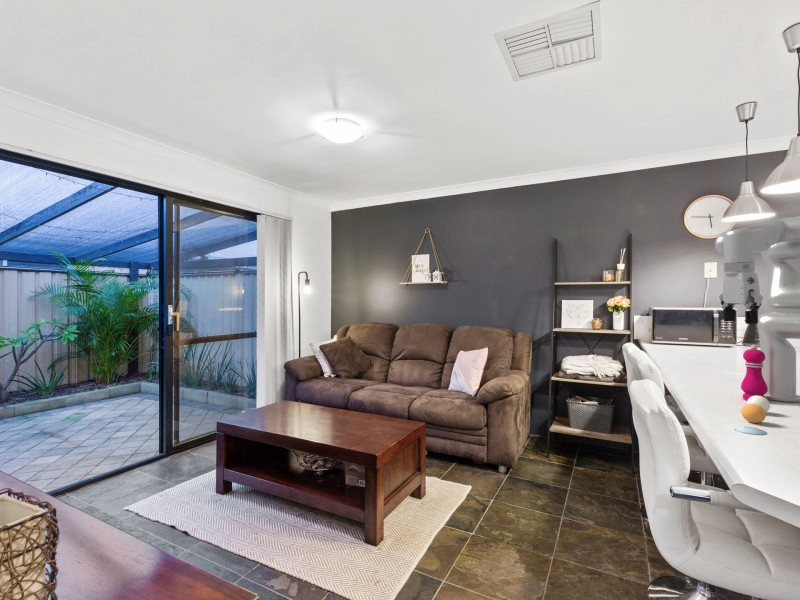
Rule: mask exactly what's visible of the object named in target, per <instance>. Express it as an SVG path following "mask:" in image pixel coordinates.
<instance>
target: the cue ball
mask: <svg viewBox="0 0 800 600" xmlns="http://www.w3.org/2000/svg"><path fill="white" fill-rule="evenodd" d="M746 403H747V404H756V405H758V406H760V407H762V408H763V409H764V411H765V413H767V412H768V411H769V410H770V409H771V404H770V400H769V399H766V398H764V397H762V396H752V397H750V398H749V399H748V401H747V400H746ZM747 404H746V405H747Z"/></svg>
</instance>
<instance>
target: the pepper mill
mask: <svg viewBox="0 0 800 600" xmlns="http://www.w3.org/2000/svg"><path fill="white" fill-rule="evenodd" d="M742 358H743V360H744V361H745V362H744V363H745V364H744V366H745V368H746V373H745V375H744V378H743V380H742V381H741V384H740V388H741V391H742V392H743V394H742V400H744V401H746V402H747V401H748V399H749V398H750V397H752V396H762V397H764V398H766V397H765V396H764V394H766V393H767V391H768V388H767V384H766V382H765V381H764V379H763V376H762V367H763V363H762V362H763V361H764V360H765V354H764V353H763V352H762V351H761V350H760V349H758V345H756V344H752V345H751V346H750V348H749V349H747V350H745V351H744V352H743V354H742Z"/></svg>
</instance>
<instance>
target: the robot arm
mask: <svg viewBox="0 0 800 600" xmlns="http://www.w3.org/2000/svg"><path fill="white" fill-rule="evenodd" d="M714 247H715V250H716V252H717V253H719V254H720V255H722V256H723V274H724V277H723V284H722V294H721V293H720V295H719V301H720V305H721V309H722V310H723V322H735V321H736V309H735V306H736V305H743V306H744V308H745V309H746V310H745V312H744V313H745V315H744V316H745V317H744V319H745V321H744V323H745V324H746V325H756V326H757V330H758V335H759V342H760V343H759V344H760V349H759V350H760V351H762V352H763V353H764V354H765V360H764V361H763V362H762V363H763V367H762V376H763V379H764V381H765V382H766V384H767V388H768V391H767V393H766V394H764V396H765V397H766V399H767V400H769V401H770V400H772V401H777V402H788V403H789V402H790V403H793V402H794V403H796V402H797V403H799V402H800V395H798V394H797V351H796V348H795V347H794V346H793V344H792V343H790V341H789V339H794V340H800V270H799V269H798V268H797V267H796V266H794V265H793V264H792V263H790V262H789V261H788V260H800V215H797V216H792V217H791V216H789V217H782V218H774V219H773V218H772V219H770V220H766V221H764V222H761V223H758V224H753V225H749V226H744V227H740V228H736V229H731V230H727V231H724V232H722V233H720V234H719V235H718V236H717V237H716V239H715V242H714ZM756 253H757V254H758V253H760V255H761V258H762V261H763V263H764V265H765V266H766V268H767V270H768V274H769V276H768V277H769V278H768V283H767V284H768V285H767V292H766V305H767V307H768V308H770V309H771V310H778V311H766V312H764V313H760V315H759V311H760V307H761V306H762V303H763V300H764V297H763V295H761V292H760V291H761V290H760V284H759V278H758V274H757V272H756Z"/></svg>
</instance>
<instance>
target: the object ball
mask: <svg viewBox="0 0 800 600" xmlns="http://www.w3.org/2000/svg"><path fill="white" fill-rule="evenodd" d="M740 412H741V416H742V418H743V419H744V420H745V421H747V422H750V423H753V424H759V423H761V422H762V423H763V421H764V420H766V417H767V412H765V411H764V409H763V408H762V407H760V406H758V405H756V404H745V405H744V406H743V407H742V408H741V411H740Z"/></svg>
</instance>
